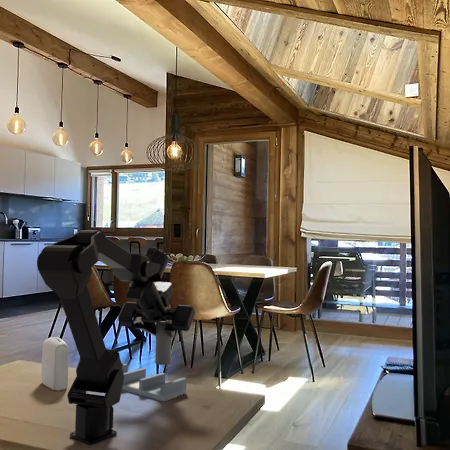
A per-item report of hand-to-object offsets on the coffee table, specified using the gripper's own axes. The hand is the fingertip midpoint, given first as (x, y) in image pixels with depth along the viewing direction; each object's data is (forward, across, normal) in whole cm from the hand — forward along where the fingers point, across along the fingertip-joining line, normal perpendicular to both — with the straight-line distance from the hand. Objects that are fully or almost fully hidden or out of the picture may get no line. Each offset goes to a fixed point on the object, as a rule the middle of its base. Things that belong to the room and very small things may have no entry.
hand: (165, 335), depth 122 cm
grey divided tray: (+8, +6, +11) cm, 15 cm away
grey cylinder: (+4, 0, +6) cm, 7 cm away
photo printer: (+4, +28, +15) cm, 32 cm away
